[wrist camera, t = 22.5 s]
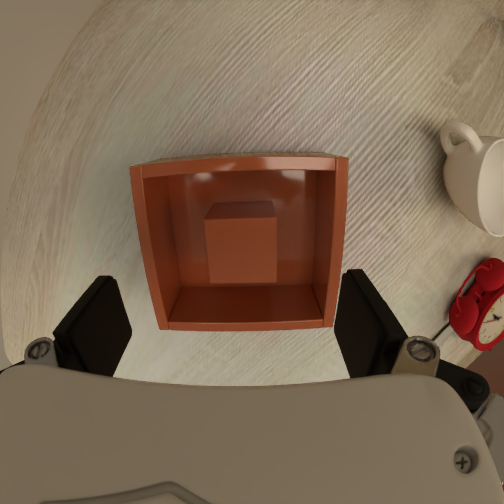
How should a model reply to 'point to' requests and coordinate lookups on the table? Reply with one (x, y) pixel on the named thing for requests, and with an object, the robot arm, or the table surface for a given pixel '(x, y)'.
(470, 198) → the cup
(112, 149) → the table surface
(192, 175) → the terracotta bin
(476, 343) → the alarm clock
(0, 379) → the robot arm
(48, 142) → the table surface
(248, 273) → the terracotta block
